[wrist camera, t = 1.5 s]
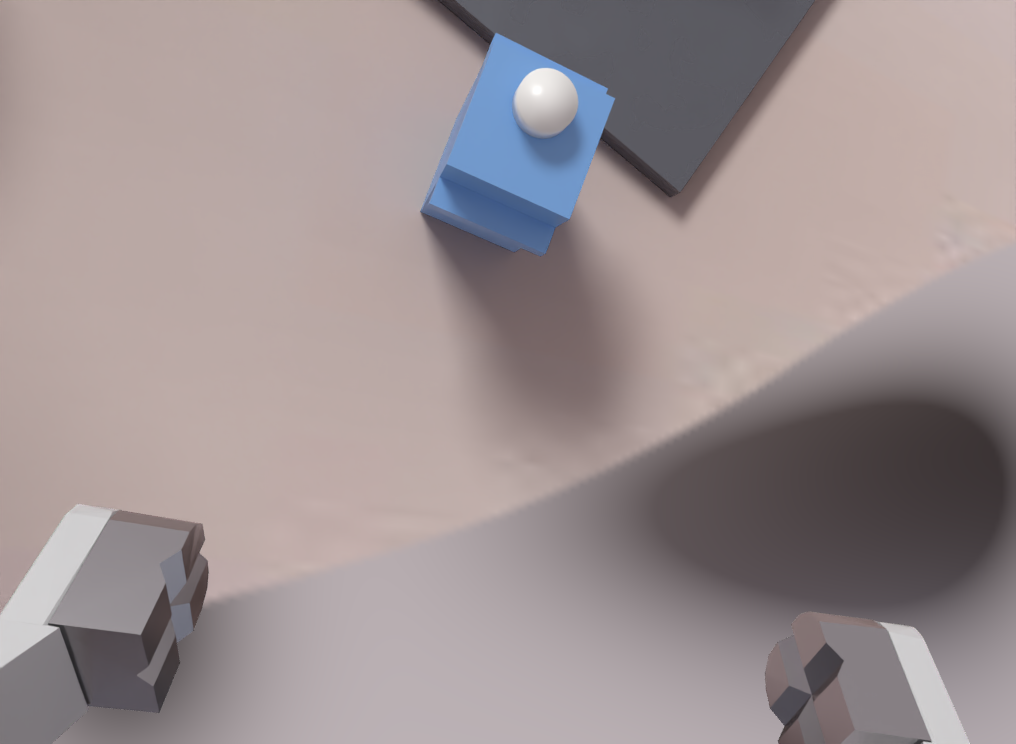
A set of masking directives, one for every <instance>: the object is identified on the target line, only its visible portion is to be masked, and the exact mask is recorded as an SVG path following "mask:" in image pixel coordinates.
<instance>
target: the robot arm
mask: <svg viewBox="0 0 1016 744" xmlns="http://www.w3.org/2000/svg"><path fill="white" fill-rule="evenodd" d="M204 541H205V536H204V530H203V525H202V524H201V523H195V522H189V521H183V520H177V519H171V518H164V517H158V516H152V515H146V514H140V513H134V512H127V511H122V510H117V509H111V508H104V507H97V506H90V505H83V504H77V505H76V506H75V507H74V508H72V509H71V510H70V511H69V512H68V513H66V514H65V516H64V517H63V519H62V520H61V522H60V523H59V525H58V526H57V528H56V529H55V531H54V532H53V534H52V535H51V537H50V538H49V540H48V542H47V543H46V545H45V546H44V548H43V549H42V551H41V552H40V554H39V555H38V557H37V558H36V560H35V561H34V563H33V564H32V566H31V568H30V569H29V571H28V572H27V574H26V575H25V577H24V578H23V580H22V581H21V583H20V584H19V586H18V587H17V589H16V591H15V592H14V594H13V595H12V597H11V598H10V600H9V601H8V603H7V604H6V606H5V607H4V609H3V610H2V612H1V613H0V744H52V743H53V742H54V741H55V740H56V739H57V738H59V737H60V735H62V734H63V733H64V732H65V731H66V730H67V729H69V728H70V726H72V725H73V724H74V723H75V722H76V721H78V720H79V719H80V718H81V717H82V716H83V715H84V714H85V713H86V712H87V711H88V706H93V707H103V708H113V709H124V710H134V711H144V712H154V713H159V712H160V710H161V708H162V705H163V703H164V701H165V698H166V696H167V693H168V691H169V689H170V686H171V684H172V681H173V679H174V676H175V674H176V672H177V669H178V667H179V664H180V658H179V652H178V646H177V643H178V642H179V641H180V640H182V639H183V638H184V637H186V636H187V635H188V634H190V633H191V632H192V631H194V628H195V625H196V623H197V620H198V618H199V615H200V613H201V610H202V606H203V603H204V599H205V595H206V591H207V585H208V574H209V571H208V561H207V560H206V559H205V558H204V557H203V556H202V555H201V554H200V553H199V552H200V550H201V548H202V545H203V543H204ZM791 626H792V629H793V633H794V635H793V636H791V637H788V638H786V639H784V640H781V641H779V642H777V644H776V645H775V647H774V648H773V650H772V651H771V653H770V654H769V656H768V661H767V666H766V671H765V682H766V693H767V697H768V701H769V706H770V709H771V710H772V711H773V712H774V714H775V715H776V716H777V717H778V718H779V720H780V721H781V722H782V723H783V725H784V729H783V731H782V733H781V735H780V737H779V740H778V743H779V744H970V742H969V740H968V738H967V735H966V733H965V731H964V728H963V726H962V724H961V722H960V719H959V717H958V715H957V713H956V710H955V708H954V706H953V704H952V701H951V699H950V697H949V695H948V692H947V690H946V688H945V686H944V683H943V681H942V679H941V677H940V674H939V672H938V670H937V668H936V666H935V663H934V661H933V659H932V657H931V654H930V652H929V650H928V647H927V645H926V643H925V641H924V639H923V637H922V635H921V634H920V633H919V632H918V631H917V630H916V629H915V628H914V627H910V626H906V625H899V624H891V623H883V622H875V621H874V620H869V619H862V618H854V617H847V616H838V615H831V614H823V613H815V612H806V613H802V614H800V615H799V616H798V617H797V618H796V619H795V621H794V622H793V623H792V624H791Z"/></svg>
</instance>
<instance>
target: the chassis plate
mask: <svg viewBox="0 0 1016 744" xmlns="http://www.w3.org/2000/svg"><path fill="white" fill-rule="evenodd" d="M439 1H440V2H441V3H442V4H444V5H445V6H446V7H447V8H448V9H450V10H451V11H452V12H453V13H454V14H455V15H457V16H458V17H459V18H460V19H461V20H463V21H464V22H465V23H466V24H467V25H468V26H470V27H471V28H472V29H473V30H474V31H475V32H477V33H478V34H479V35H480V36H481V37H483V38H484V39H485V40H486V41H487V42H488V43H490V44H491V42H492V40H493V38H494V35H495V33H498V34H500V35H502V36H504V37H506V38H508V39H510V40H512V41H514V42H516V43H518V44H520V45H522V46H524V47H526V48H528V49H530V50H532V51H534V52H536V53H538V54H540V55H542V56H544V57H546V58H548V59H550V60H552V61H554V62H556V63H558V64H560V65H562V66H564V67H566V68H568V69H570V70H572V71H574V72H576V73H578V74H580V75H582V76H584V77H586V78H588V79H590V80H592V81H594V82H596V83H598V84H600V85H602V86H604V87H606V88H608V90H607V93H606V94H607V95H609V96H611V97H613V98H615V100H614V103H613V105H612V108H611V111H610V113H609V116H608V119H607V121H606V124H605V127H604V129H603V132H602V134H601V137H600V138H602V139H603V140H604V141H605V142H606V143H608V144H609V145H610V146H611V147H612V148H613V149H615V150H616V151H617V152H618V153H619V154H620V155H622V156H623V157H624V158H625V159H626V160H628V161H629V162H630V163H631V164H632V165H633V166H635V167H636V168H637V169H638V170H639V171H641V172H642V173H643V174H644V175H645V176H646V177H648V178H649V179H650V180H651V181H652V182H653V183H655V184H656V185H657V186H658V187H659V188H661V189H662V190H663V191H664V192H665V193H666V194H668V195H669V196H670V197H671V196H673V195H675V194H678V193H680V192H681V190H682V189H683V188H684V186H685V185H686V183H687V182H688V180H689V179H690V178H691V176H692V175H693V173H694V172H695V170H696V169H697V168H698V166H699V165H700V163H701V162H702V161H703V159H704V158H705V156H706V155H707V153H708V152H709V151H710V149H711V148H712V146H713V145H714V143H715V142H716V141H717V139H718V138H719V136H720V135H721V133H722V132H723V131H724V129H725V128H726V126H727V125H728V123H729V122H730V121H731V119H732V118H733V116H734V115H735V114H736V112H737V111H738V109H739V108H740V106H741V105H742V104H743V102H744V101H745V99H746V98H747V96H748V95H749V94H750V92H751V91H752V89H753V88H754V86H755V85H756V84H757V82H758V81H759V79H760V78H761V76H762V75H763V74H764V72H765V71H766V69H767V68H768V67H769V65H770V64H771V62H772V61H773V59H774V58H775V57H776V55H777V54H778V52H779V51H780V49H781V48H782V47H783V45H784V44H785V42H786V41H787V39H788V38H789V37H790V35H791V34H792V32H793V31H794V29H795V28H796V27H797V25H798V24H799V22H800V21H801V19H802V18H803V17H804V15H805V14H806V12H807V11H808V10H809V8H810V7H811V5H812V4H813V2H814V1H815V0H439Z"/></svg>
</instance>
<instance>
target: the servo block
mask: <svg viewBox="0 0 1016 744" xmlns="http://www.w3.org/2000/svg"><path fill="white" fill-rule="evenodd" d="M607 90H608V88H606V87H604V86H602V85H600V84H598V83H596V82H594V81H592V80H590V79H588V78H586V77H584V76H582V75H580V74H578V73H576V72H574V71H572V70H570V69H568V68H566V67H564V66H562V65H560V64H558V63H556V62H554V61H552V60H550V59H548V58H546V57H544V56H542V55H540V54H538V53H536V52H534V51H532V50H530V49H528V48H526V47H524V46H522V45H520V44H518V43H516V42H514V41H512V40H510V39H508V38H506V37H504V36H502V35H500V34H498V33H495V35H494V38H493V40H492V42H491V44H490V47H489V50H488V52H487V55H486V57H485V60H484V62H483V65H482V67H481V69H480V71H479V73H478V76H477V78H476V80H475V82H474V84H473V86H472V88H471V90H470V92H469V94H468V96H467V98H466V100H465V102H464V104H463V106H462V108H461V110H460V112H459V114H458V116H457V119H456V121H455V124H454V127H453V129H452V132H451V134H450V137H449V139H448V142H447V144H446V147H445V150H444V152H443V155H442V157H441V160H440V162H439V165H438V168H437V170H436V173H435V175H434V178H433V180H432V183H431V185H430V188H429V191H428V193H427V196H426V198H425V201H424V203H423V206H422V209H421V211H420V212H422V213H424V214H427V215H429V216H431V217H434V218H436V219H438V220H441V221H443V222H445V223H448V224H450V225H452V226H455V227H457V228H459V229H462V230H464V231H466V232H468V233H471V234H473V235H475V236H478V237H480V238H482V239H485V240H487V241H489V242H492V243H494V244H496V245H499V246H501V247H503V248H506V249H508V250H510V251H513V252H516V251H517V250H519V249H521V248H522V249H524V250H527V251H529V252H531V253H534V254H536V255H538V256H542V255H544V254H546V251H547V249H548V246H549V243H550V241H551V238H552V235H553V233H554V230H555V228H556V227H557V226H559V225H561V224H562V223H564V222H566V221H567V220H569V219H570V217H571V214H572V211H573V209H574V206H575V203H576V201H577V198H578V196H579V193H580V190H581V188H582V185H583V182H584V180H585V177H586V174H587V172H588V169H589V166H590V164H591V161H592V158H593V156H594V153H595V150H596V148H597V145H598V142H599V140H600V137H601V134H602V132H603V129H604V127H605V124H606V121H607V119H608V116H609V113H610V111H611V108H612V105H613V103H614V100H615V98H613V97H611V96H609V95H607V94H606V93H607Z"/></svg>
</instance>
